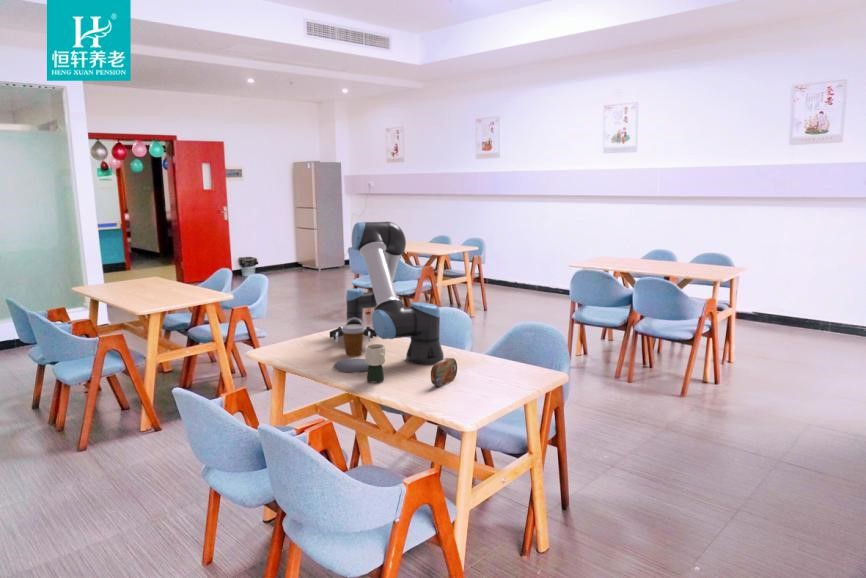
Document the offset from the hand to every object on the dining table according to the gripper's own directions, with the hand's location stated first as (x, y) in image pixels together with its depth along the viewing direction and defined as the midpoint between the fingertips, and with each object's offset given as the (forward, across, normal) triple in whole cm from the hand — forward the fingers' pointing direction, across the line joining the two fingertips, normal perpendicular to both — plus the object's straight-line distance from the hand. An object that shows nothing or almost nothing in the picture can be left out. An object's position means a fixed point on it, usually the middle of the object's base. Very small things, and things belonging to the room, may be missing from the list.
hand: (352, 338), depth 248 cm
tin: (+40, -34, -7) cm, 53 cm away
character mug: (+37, -9, -7) cm, 38 cm away
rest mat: (+18, -1, -6) cm, 19 cm away
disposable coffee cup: (+2, 0, -6) cm, 7 cm away
